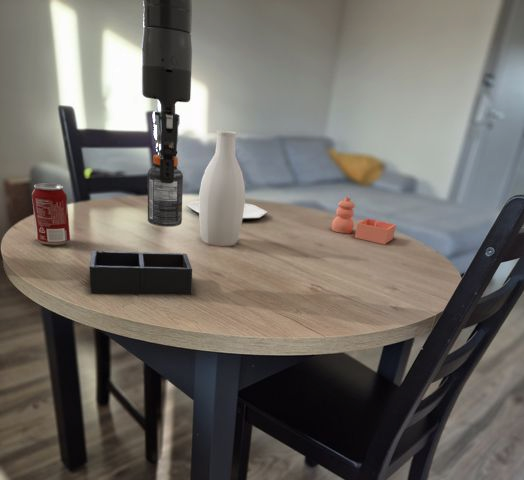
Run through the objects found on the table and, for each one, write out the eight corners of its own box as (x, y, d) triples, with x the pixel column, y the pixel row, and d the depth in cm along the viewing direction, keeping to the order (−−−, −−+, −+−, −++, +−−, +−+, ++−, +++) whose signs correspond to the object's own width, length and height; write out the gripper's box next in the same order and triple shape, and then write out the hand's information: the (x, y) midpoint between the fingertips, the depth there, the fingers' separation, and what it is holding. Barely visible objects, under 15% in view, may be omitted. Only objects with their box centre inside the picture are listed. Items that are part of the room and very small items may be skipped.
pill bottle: (161, 217, 89) (162, 152, 84) (188, 223, 87) (190, 157, 82) (140, 222, 84) (140, 153, 79) (168, 229, 82) (169, 159, 77)
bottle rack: (90, 293, 84) (89, 266, 81) (93, 275, 91) (92, 250, 89) (191, 294, 88) (192, 269, 86) (185, 276, 96) (186, 253, 94)
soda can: (70, 247, 104) (66, 190, 99) (36, 246, 102) (29, 188, 96) (70, 238, 110) (65, 183, 104) (37, 237, 108) (31, 182, 102)
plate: (272, 212, 158) (273, 208, 158) (251, 227, 138) (252, 221, 137) (206, 201, 163) (206, 196, 162) (176, 213, 142) (176, 208, 142)
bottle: (195, 245, 116) (201, 130, 104) (198, 233, 125) (203, 127, 114) (241, 249, 117) (252, 136, 105) (240, 237, 127) (250, 132, 115)
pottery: (392, 238, 145) (400, 205, 140) (384, 244, 137) (392, 209, 133) (337, 226, 151) (342, 193, 147) (326, 230, 144) (332, 197, 139)
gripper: (140, 63, 79) (141, 170, 87) (143, 60, 67) (144, 185, 75) (186, 69, 81) (182, 173, 89) (197, 68, 69) (192, 188, 77)
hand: (165, 178), depth 82 cm, fingers closed on pill bottle, 6 cm apart
